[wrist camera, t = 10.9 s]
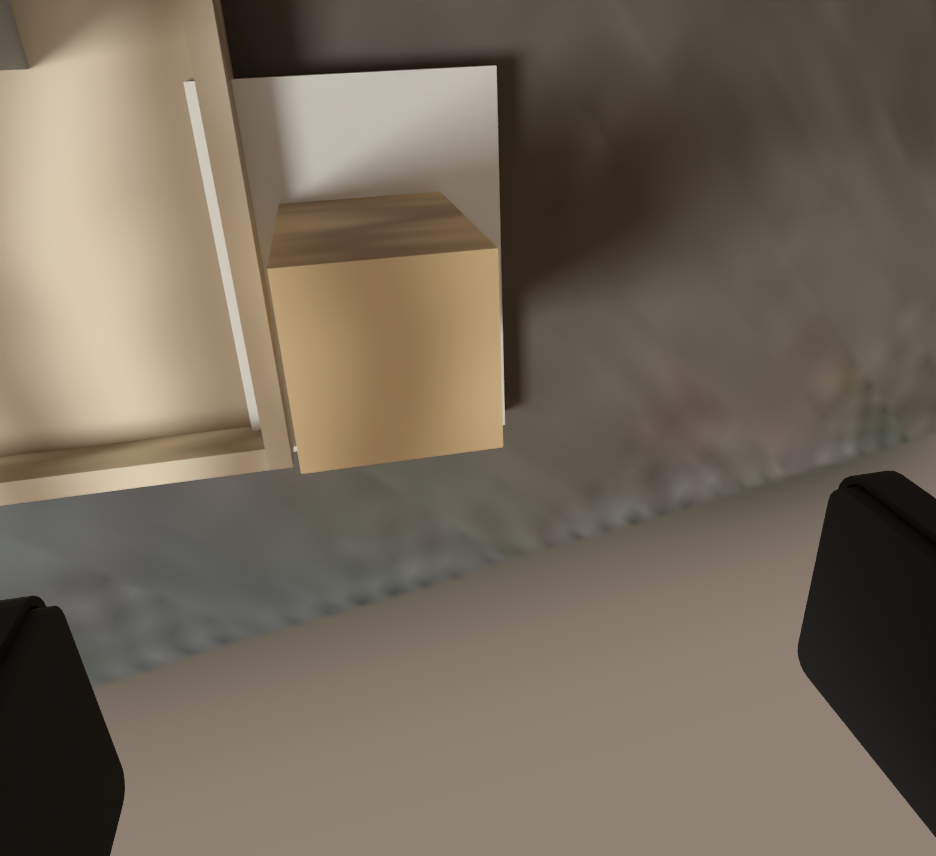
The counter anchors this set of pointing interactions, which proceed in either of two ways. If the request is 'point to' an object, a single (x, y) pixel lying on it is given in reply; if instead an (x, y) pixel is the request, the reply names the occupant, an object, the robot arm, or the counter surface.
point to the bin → (126, 258)
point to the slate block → (10, 40)
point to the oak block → (386, 329)
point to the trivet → (358, 155)
